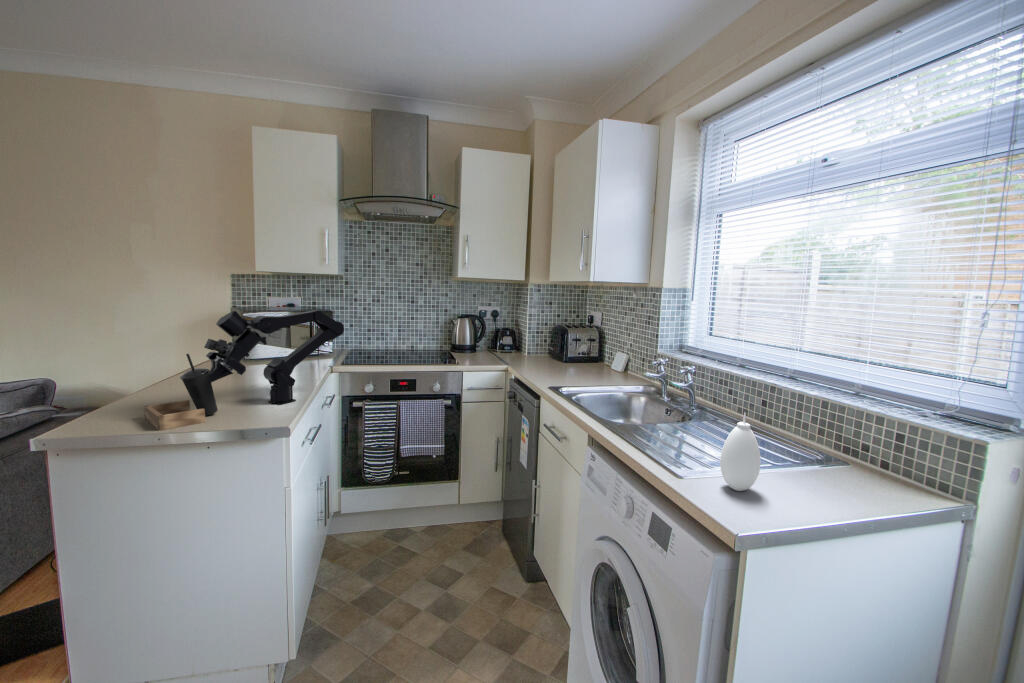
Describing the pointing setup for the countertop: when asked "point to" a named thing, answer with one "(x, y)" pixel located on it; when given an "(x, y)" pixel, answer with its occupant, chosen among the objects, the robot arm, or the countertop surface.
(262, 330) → the robot arm
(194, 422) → the wooden tray
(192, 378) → the drinking cup
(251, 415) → the countertop surface
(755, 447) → the sauce bottle
